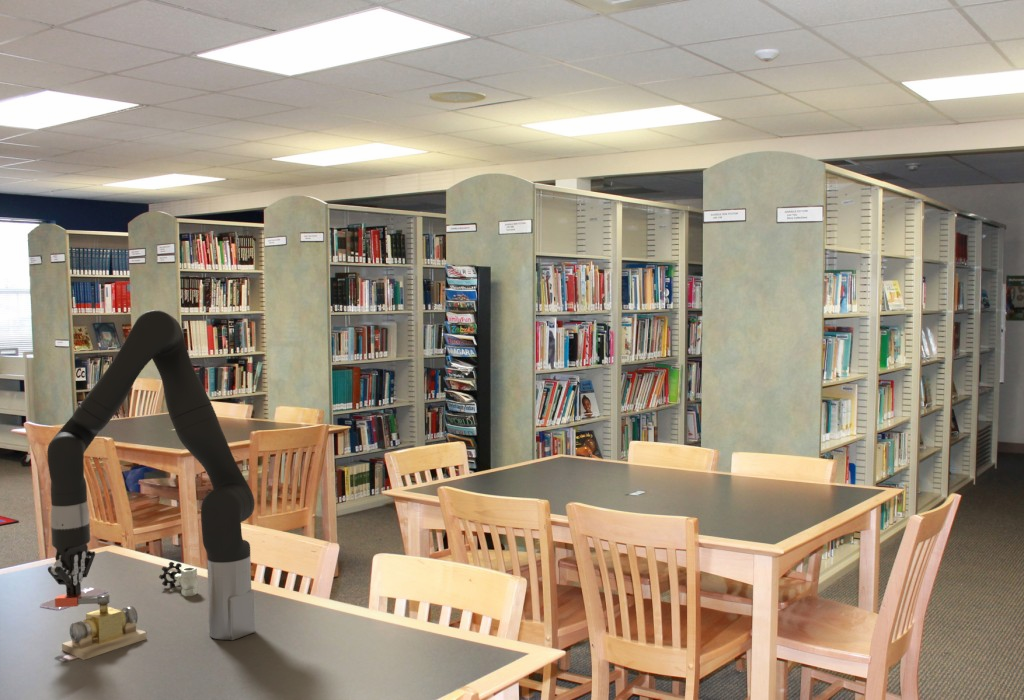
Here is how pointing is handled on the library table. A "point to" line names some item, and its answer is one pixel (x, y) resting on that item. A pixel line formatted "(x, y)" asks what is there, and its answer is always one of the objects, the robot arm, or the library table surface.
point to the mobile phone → (83, 593)
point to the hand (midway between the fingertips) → (74, 600)
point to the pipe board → (91, 649)
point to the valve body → (103, 624)
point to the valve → (181, 578)
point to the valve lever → (80, 600)
